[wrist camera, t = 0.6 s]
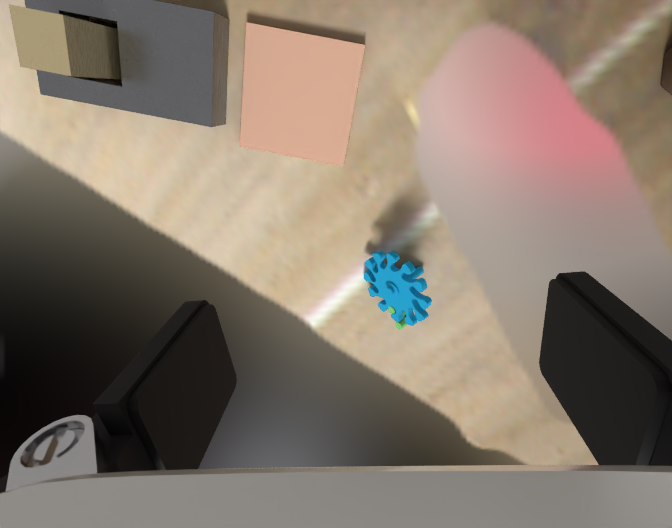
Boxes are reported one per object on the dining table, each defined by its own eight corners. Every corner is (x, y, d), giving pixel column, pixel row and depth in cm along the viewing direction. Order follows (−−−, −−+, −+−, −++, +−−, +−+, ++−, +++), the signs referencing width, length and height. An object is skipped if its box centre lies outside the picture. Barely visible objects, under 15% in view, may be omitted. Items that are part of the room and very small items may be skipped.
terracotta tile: (248, 23, 36) (246, 22, 36) (365, 45, 36) (365, 45, 36) (241, 145, 42) (239, 146, 41) (344, 165, 42) (343, 166, 41)
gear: (355, 244, 44) (423, 272, 37) (388, 225, 47) (456, 248, 40) (364, 313, 50) (424, 348, 43) (393, 292, 53) (453, 322, 46)
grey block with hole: (54, -14, 36) (20, -26, 33) (229, 19, 36) (213, 11, 33) (69, 94, 41) (40, 94, 37) (225, 124, 41) (211, 127, 37)
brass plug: (95, 26, 38) (8, 4, 29) (136, 33, 38) (62, 14, 29) (100, 72, 40) (20, 66, 31) (139, 80, 40) (71, 76, 31)
